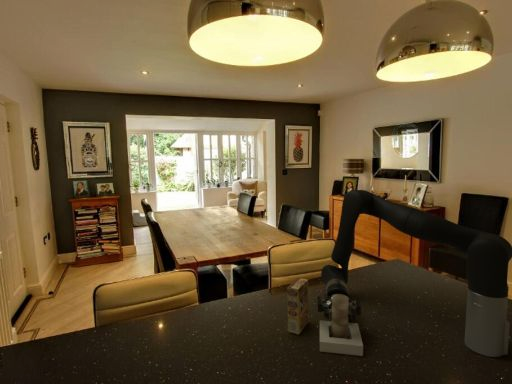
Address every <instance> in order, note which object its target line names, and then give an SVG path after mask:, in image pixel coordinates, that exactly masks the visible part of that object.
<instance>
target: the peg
mask: <svg viewBox="0 0 512 384" xmlns="http://www.w3.org/2000/svg"><path fill="white" fill-rule="evenodd" d="M349 298H350V297H349ZM349 298H348V297H347V296H346V295H342V294H335V295H333V296H332V312H331V321H332V335H331V337H333V338H343V339H349V336H348V323H349V313H348V303H349Z"/></svg>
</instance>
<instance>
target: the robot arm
mask: <svg viewBox="0 0 512 384" xmlns="http://www.w3.org/2000/svg"><path fill="white" fill-rule="evenodd" d="M340 212H341V214H340V217H339V218H340V219H339V225H338V229H337V230H338V231H337V235H336V239H335V243H334V246H333V249H332V251H331V252H332V253H331V257H330V259H331V260H332V262H334V263H335V264H337V265H339V266H340V267H339V266H335V265H332V264H326V265H324V266H323V267H322V269H321V272H320V276H321V281H322V283H324V284H323V285H325V286H326V287H325V296H326V297H325V298H322V297H321V296H317V297H316V306H317V312H318V313H322V312H323V317H324V318H326V320H330V313H332V296H333V295H335V294H342V295H346V296H347V297H348V298H349V303H348V315H350V318H351V322H355V321H356V320H357V316H361V315H362V302H361V299H359V298H358V299H356V300H355V301H354V300H352V299H351V298H350V295H349V294H350V293H349V289H348V286H347V284H348V281H349V264H350V259H351V256H352V253H353V252H354V251H353V250H354V246H355V227H356V224H357V221H358V219H359V217H360V215H368V216H370V217H371V216H372V217H375V218H377V219H381V220H383V221H385V222H386V223H388V225H390V226H392V227H393V228H394V229H396V230H397V231H398V232H400V233H403V234H405V235H407V236H409V237H412V238H415V239H417V240H419V241H424V242H428V243H431V244H432V243H434V244H438V245H444V246H448V247H451V248H452V247H453V248H454V249H458V250H461V251H463V252H465V253H466V280H467V294H466V295H467V296H466V311H465V331H464V345H465V346H466V347H467V348H468V349H470V350H471V351H473V352H474V353H477V354H480V355H482V356H484V357H485V356H486V357H490V358H500V357H502V356H508V353H509V342H510V341H509V340H510V328H511V327H510V326H511V324H510V322H509V321H508V320H507V314H508V303H509V302H508V301H509V285H508V272H509V262H510V261H511V260H512V244H511V243H510V241H509V240H507V239H505V238H504V237H502V236H501V235H499V234H495V233H491V232H488V231H487V232H486V231H482V230H479V229H474V228H471V227H467V226H463V225H460V224H458V223H456V222H453V221H451V220H448V219H447V218H443V217H440V216H439V215H435V214H432V213H429V212H427V211H424V210H421V209H418V208H415V207H412V206H409V205H405V204H402V203H397V202H393V201H390V200H387V199H385V198H383V197H380V196H379V195H377V194H374V193H373V192H370V191H368V190H364V189H352V190H349V191H347V192H346V193H345V194H344V197H343V199H342V206H341V211H340Z"/></svg>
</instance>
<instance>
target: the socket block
mask: <svg viewBox="0 0 512 384" xmlns="http://www.w3.org/2000/svg"><path fill="white" fill-rule="evenodd" d="M330 336H331V337H330ZM362 340H363V339H362V336H361V331H360V326H359V323H357V322H356V323H355V322H348V339H343V338H333V337H332V320H321V319H320V320H319V352H321V353H322V352H323V353H329V354H330V353H331V354H342V355H350V356H360V357H363V356H364V343H363V341H362Z"/></svg>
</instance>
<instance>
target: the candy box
mask: <svg viewBox="0 0 512 384" xmlns="http://www.w3.org/2000/svg"><path fill="white" fill-rule="evenodd" d="M286 289H287V290H286V291H287V294H286V297H287V298H286V299H287V300H286V301H287V332H288V333H292V334H294V335H295V334H296V335H300V334H301V333H302V331H303V330H304V329H305V327H306V325H308V323H309V279H305V278H301V277H297V278H296V279H295V280H294V281H292V282H291V283H290V284H289V285H288V286H287V288H286Z"/></svg>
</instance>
